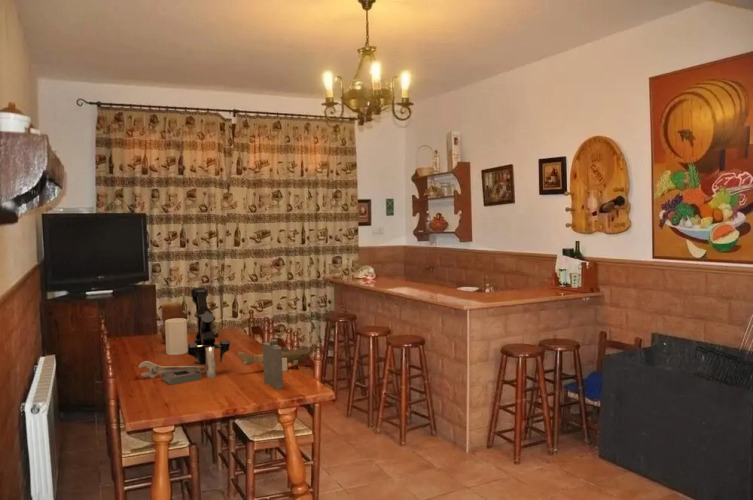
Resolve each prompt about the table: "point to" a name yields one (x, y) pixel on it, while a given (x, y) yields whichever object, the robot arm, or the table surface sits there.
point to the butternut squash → (170, 313)
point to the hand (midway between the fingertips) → (210, 362)
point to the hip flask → (273, 364)
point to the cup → (176, 336)
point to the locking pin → (210, 362)
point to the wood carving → (286, 357)
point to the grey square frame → (181, 376)
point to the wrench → (164, 369)
